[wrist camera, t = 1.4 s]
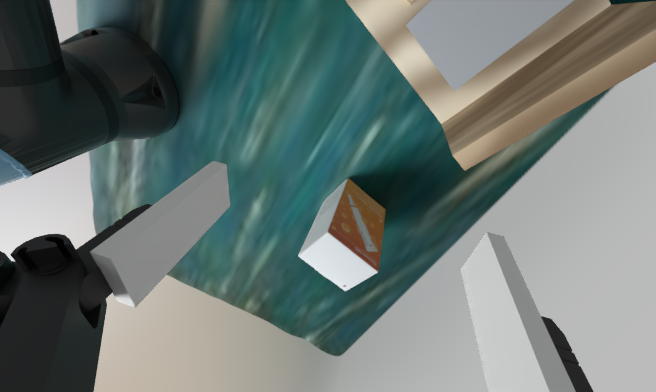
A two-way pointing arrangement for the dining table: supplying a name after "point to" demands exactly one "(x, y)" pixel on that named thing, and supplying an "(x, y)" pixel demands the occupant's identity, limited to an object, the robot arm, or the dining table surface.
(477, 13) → the carriage
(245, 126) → the dining table surface
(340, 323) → the dining table surface
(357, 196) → the small box
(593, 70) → the jig
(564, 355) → the robot arm
